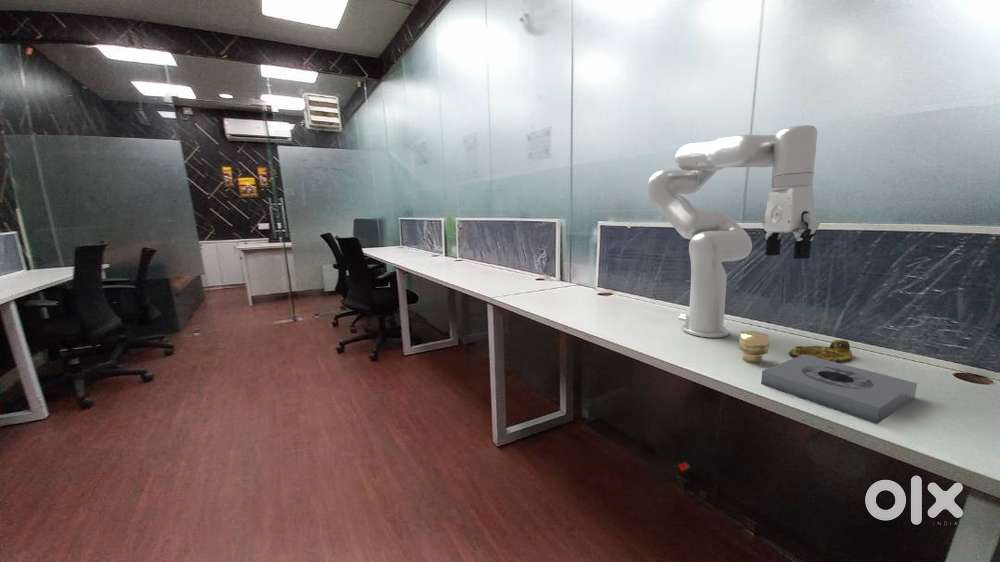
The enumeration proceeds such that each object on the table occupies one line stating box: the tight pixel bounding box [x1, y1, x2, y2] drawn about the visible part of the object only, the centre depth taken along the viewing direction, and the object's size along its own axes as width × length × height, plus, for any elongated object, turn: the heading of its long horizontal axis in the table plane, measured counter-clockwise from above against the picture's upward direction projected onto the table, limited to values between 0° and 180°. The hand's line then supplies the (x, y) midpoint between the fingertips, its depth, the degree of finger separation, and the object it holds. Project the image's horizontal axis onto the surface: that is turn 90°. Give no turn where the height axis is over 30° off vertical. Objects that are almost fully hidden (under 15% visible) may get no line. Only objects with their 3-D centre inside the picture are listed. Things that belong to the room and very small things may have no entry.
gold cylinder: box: [738, 330, 771, 365], centre depth 89 cm, size 6×6×7 cm
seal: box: [788, 339, 854, 363], centre depth 90 cm, size 9×5×15 cm
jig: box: [760, 354, 918, 425], centre depth 73 cm, size 18×18×3 cm
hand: (785, 256), depth 85 cm, fingers open, 9 cm apart
